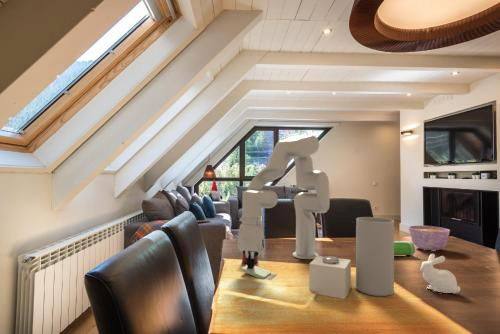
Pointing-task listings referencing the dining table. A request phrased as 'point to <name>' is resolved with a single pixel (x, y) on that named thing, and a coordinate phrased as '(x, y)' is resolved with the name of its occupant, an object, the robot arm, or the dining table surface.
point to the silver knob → (330, 260)
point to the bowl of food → (429, 237)
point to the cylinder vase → (375, 256)
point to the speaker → (403, 248)
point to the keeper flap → (256, 272)
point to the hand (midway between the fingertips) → (250, 267)
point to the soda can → (244, 259)
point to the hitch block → (330, 277)
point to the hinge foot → (271, 276)
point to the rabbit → (439, 276)
